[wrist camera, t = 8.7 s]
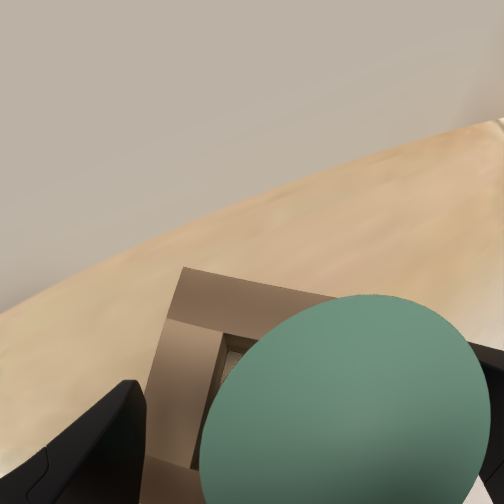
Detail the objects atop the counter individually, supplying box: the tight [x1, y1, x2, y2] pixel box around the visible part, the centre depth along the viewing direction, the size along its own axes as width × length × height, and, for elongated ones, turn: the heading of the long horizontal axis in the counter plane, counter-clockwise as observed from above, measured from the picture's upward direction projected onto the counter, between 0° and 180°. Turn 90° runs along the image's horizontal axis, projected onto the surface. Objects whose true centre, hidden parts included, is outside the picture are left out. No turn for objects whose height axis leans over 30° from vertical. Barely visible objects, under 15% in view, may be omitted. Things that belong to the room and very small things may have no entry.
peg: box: [199, 295, 491, 504], centre depth 8 cm, size 4×4×12 cm
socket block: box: [139, 267, 337, 504], centre depth 12 cm, size 11×11×4 cm
